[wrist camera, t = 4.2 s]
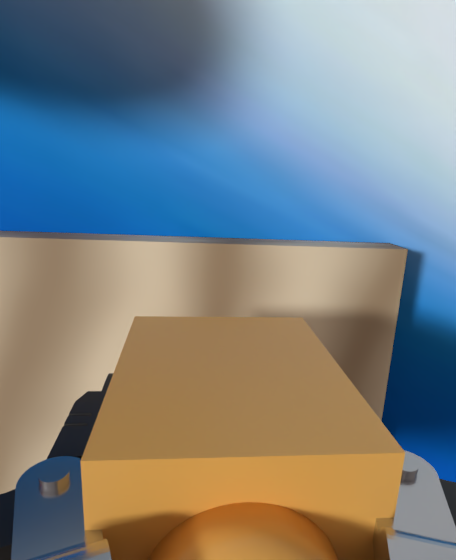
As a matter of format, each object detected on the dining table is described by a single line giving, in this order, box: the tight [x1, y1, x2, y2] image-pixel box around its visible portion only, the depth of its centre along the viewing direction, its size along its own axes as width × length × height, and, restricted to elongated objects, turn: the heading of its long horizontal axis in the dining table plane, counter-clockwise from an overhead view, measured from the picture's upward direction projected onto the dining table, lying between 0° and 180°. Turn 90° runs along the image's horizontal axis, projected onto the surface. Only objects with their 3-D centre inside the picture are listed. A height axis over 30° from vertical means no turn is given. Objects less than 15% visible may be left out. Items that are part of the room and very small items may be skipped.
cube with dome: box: [81, 316, 405, 560], centre depth 9 cm, size 5×5×7 cm
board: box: [0, 231, 408, 494], centre depth 16 cm, size 16×18×5 cm
